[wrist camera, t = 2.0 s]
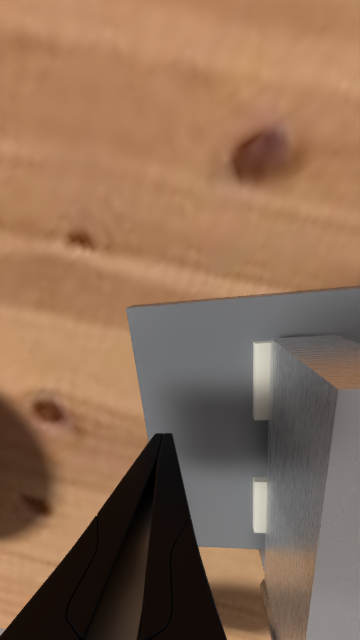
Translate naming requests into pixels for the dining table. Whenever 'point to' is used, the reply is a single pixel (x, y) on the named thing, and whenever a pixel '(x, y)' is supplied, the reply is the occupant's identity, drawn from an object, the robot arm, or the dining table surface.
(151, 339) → the label plate
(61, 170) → the dining table surface
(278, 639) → the swing bar
